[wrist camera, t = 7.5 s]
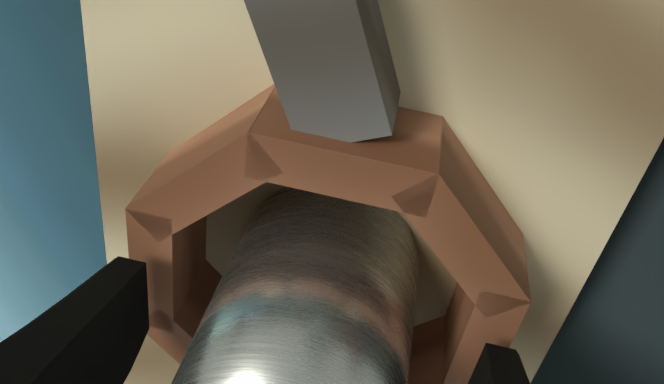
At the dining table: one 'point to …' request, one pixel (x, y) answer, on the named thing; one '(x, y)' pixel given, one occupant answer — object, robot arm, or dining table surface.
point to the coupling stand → (377, 148)
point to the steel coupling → (311, 298)
